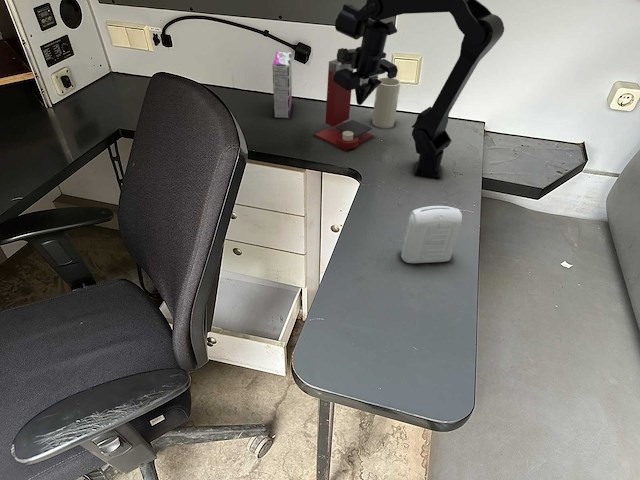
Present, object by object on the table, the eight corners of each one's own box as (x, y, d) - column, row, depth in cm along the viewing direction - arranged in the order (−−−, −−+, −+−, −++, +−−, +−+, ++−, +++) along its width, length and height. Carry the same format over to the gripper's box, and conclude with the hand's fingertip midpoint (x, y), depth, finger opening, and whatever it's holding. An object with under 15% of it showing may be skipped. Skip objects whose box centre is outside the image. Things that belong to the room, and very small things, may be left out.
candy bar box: (276, 103, 152) (275, 51, 142) (291, 104, 152) (292, 51, 142) (273, 118, 144) (271, 63, 133) (289, 119, 144) (289, 64, 133)
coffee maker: (376, 138, 136) (377, 130, 135) (348, 153, 129) (349, 145, 127) (341, 123, 143) (341, 116, 141) (313, 136, 135) (313, 128, 134)
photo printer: (446, 249, 99) (459, 200, 91) (453, 262, 96) (468, 213, 88) (398, 251, 97) (408, 202, 90) (404, 265, 94) (414, 215, 86)
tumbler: (392, 129, 141) (399, 87, 133) (370, 126, 142) (375, 84, 134) (394, 120, 146) (401, 78, 138) (373, 117, 147) (378, 75, 139)
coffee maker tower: (372, 129, 135) (380, 66, 124) (356, 137, 131) (362, 73, 120) (341, 116, 141) (346, 55, 130) (325, 123, 137) (328, 61, 126)
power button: (355, 139, 131) (355, 133, 130) (348, 142, 129) (348, 136, 128) (346, 135, 132) (347, 129, 131) (339, 138, 131) (340, 133, 129)
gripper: (374, 28, 125) (362, 84, 135) (323, 38, 114) (313, 98, 125) (406, 45, 120) (390, 101, 130) (354, 58, 109) (342, 117, 120)
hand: (359, 104), depth 127 cm, fingers closed
